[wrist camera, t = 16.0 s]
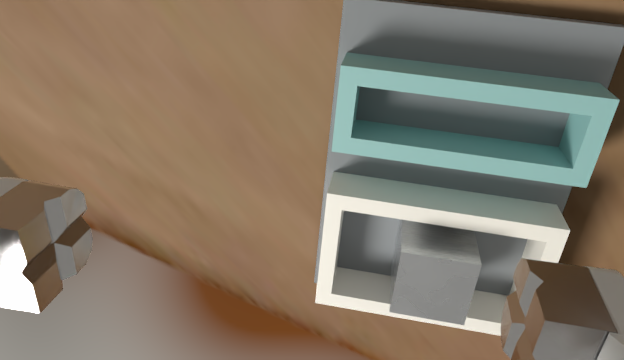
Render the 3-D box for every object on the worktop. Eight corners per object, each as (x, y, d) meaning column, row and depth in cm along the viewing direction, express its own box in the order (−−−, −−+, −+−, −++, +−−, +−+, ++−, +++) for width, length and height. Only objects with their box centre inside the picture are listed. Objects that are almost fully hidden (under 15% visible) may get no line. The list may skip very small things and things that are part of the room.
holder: (622, 24, 27) (654, 39, 24) (521, 309, 37) (533, 350, 33) (345, -6, 29) (337, 4, 25) (316, 274, 38) (307, 309, 35)
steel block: (471, 219, 33) (481, 265, 28) (457, 274, 35) (463, 325, 31) (402, 208, 33) (401, 252, 29) (391, 263, 35) (389, 312, 31)
